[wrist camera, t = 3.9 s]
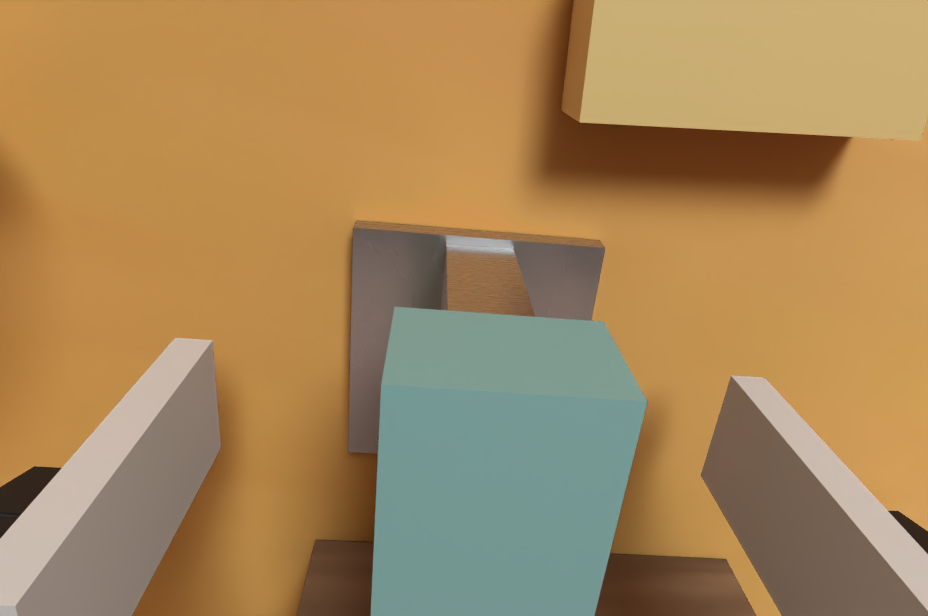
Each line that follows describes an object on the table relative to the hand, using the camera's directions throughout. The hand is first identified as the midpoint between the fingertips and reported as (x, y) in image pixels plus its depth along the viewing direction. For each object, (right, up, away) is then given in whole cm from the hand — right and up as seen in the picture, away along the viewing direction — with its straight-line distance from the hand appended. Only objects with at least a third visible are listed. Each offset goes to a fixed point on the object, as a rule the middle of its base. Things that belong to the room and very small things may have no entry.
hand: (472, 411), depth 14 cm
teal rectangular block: (0, -1, -2) cm, 2 cm away
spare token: (+6, +8, 0) cm, 10 cm away
